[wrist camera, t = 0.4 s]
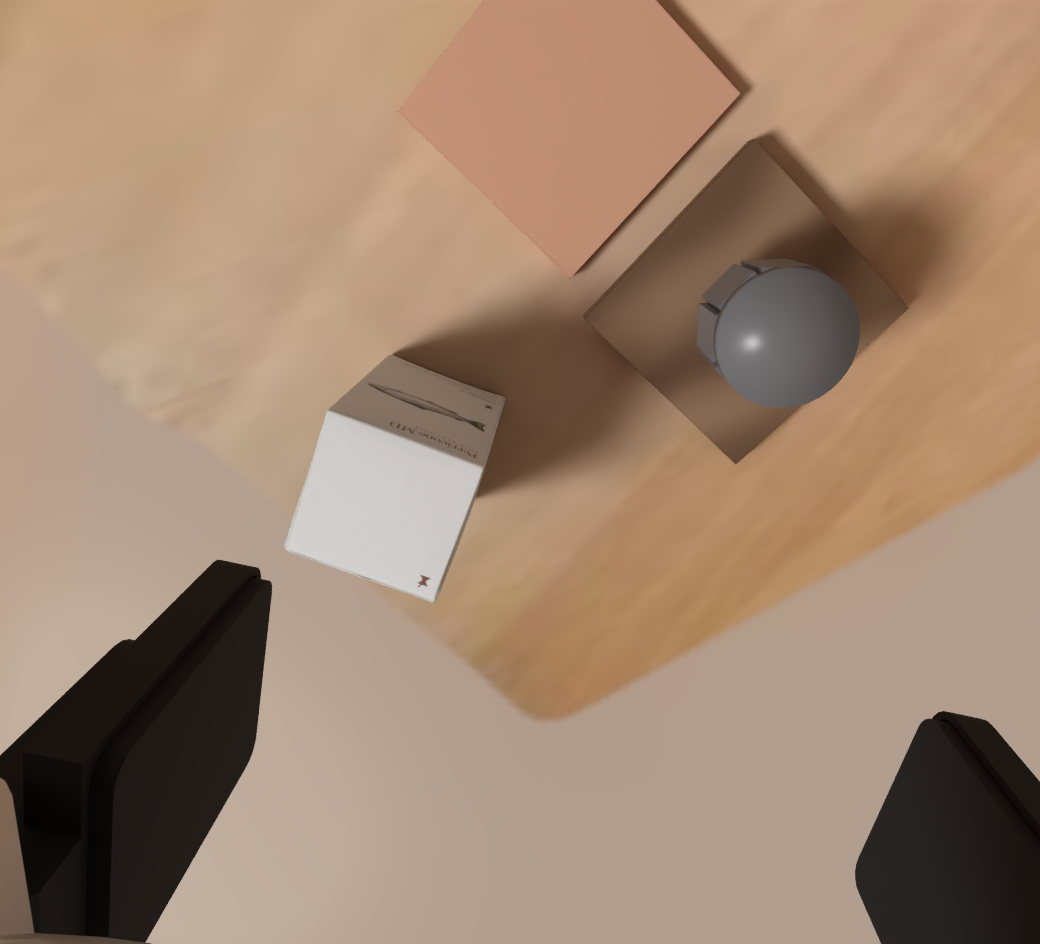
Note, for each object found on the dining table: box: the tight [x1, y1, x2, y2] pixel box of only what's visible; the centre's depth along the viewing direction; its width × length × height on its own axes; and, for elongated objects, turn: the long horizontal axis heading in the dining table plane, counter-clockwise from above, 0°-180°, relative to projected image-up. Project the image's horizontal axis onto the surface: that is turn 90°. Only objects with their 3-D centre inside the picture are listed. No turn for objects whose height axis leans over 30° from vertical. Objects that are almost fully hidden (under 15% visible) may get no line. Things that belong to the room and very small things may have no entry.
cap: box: [697, 259, 860, 408], centre depth 35 cm, size 6×6×5 cm
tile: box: [398, 0, 740, 278], centre depth 38 cm, size 12×12×1 cm
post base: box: [583, 140, 909, 464], centre depth 37 cm, size 12×12×8 cm
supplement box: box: [284, 355, 505, 603], centre depth 39 cm, size 7×7×13 cm
